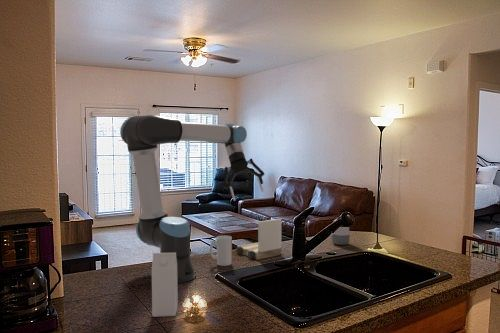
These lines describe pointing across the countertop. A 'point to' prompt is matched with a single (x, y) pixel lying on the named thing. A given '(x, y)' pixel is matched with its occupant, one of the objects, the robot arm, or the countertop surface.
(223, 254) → the mug
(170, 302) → the milk carton
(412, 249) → the countertop surface
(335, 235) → the smart speaker
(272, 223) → the panel
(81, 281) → the countertop surface
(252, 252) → the flatbed
